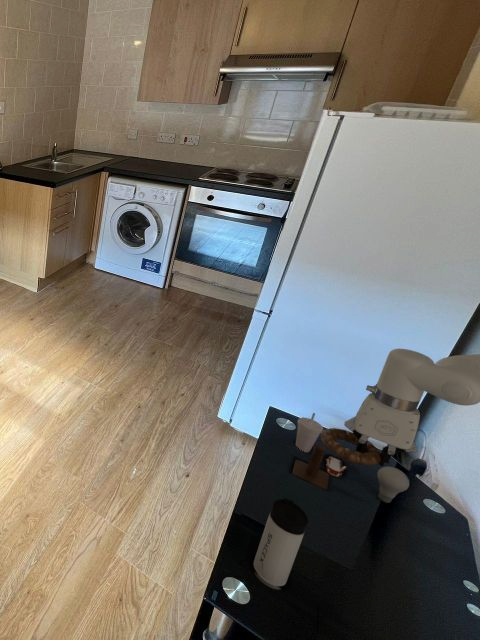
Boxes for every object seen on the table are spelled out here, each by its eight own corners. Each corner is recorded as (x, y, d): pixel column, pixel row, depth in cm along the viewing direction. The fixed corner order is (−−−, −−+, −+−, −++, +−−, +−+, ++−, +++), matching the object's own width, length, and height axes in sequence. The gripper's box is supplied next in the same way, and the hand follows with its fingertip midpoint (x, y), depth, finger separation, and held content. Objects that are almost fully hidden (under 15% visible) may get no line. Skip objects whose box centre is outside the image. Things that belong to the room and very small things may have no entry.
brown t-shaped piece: (328, 476, 122) (339, 446, 118) (326, 492, 116) (337, 461, 113) (295, 461, 127) (304, 432, 124) (291, 476, 121) (301, 446, 118)
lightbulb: (370, 488, 118) (382, 458, 115) (400, 502, 114) (413, 471, 110) (367, 499, 114) (379, 468, 111) (397, 514, 110) (411, 483, 106)
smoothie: (288, 447, 133) (299, 411, 129) (292, 438, 137) (304, 403, 133) (312, 458, 128) (325, 422, 124) (316, 448, 132) (329, 413, 128)
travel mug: (282, 569, 95) (306, 504, 89) (286, 596, 90) (312, 528, 84) (251, 555, 98) (271, 492, 92) (253, 580, 93) (275, 514, 87)
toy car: (321, 470, 124) (324, 462, 123) (324, 457, 129) (327, 449, 128) (343, 481, 120) (346, 472, 119) (346, 466, 125) (349, 458, 124)
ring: (377, 450, 106) (381, 441, 106) (379, 475, 98) (383, 466, 98) (321, 428, 114) (324, 419, 113) (318, 450, 106) (321, 441, 105)
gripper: (349, 390, 101) (327, 449, 106) (448, 422, 90) (418, 486, 96) (350, 377, 106) (329, 434, 111) (443, 407, 95) (414, 468, 101)
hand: (370, 458), depth 103 cm, fingers closed on ring, 3 cm apart
